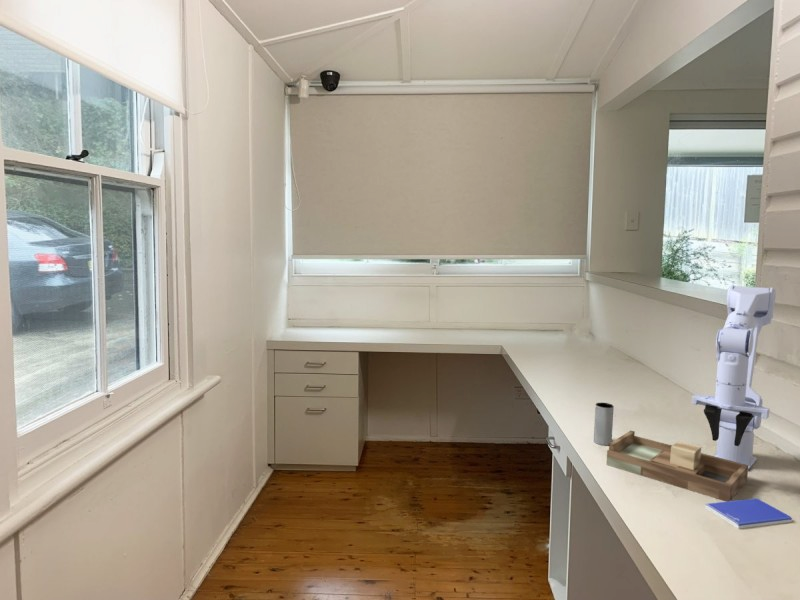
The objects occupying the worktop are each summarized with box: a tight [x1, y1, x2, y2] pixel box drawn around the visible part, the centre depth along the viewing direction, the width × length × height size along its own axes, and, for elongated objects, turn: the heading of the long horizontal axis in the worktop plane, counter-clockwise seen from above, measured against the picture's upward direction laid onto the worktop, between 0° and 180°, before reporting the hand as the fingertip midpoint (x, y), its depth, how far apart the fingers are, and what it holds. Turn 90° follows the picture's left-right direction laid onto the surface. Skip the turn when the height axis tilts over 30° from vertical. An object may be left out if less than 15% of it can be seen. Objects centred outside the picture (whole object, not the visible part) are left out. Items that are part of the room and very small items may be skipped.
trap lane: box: [605, 430, 749, 502], centre depth 125 cm, size 15×26×5 cm, turn 45°
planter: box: [593, 402, 615, 446], centre depth 143 cm, size 4×4×10 cm
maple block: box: [670, 441, 702, 470], centre depth 126 cm, size 5×5×4 cm
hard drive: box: [704, 498, 793, 530], centre depth 106 cm, size 2×8×12 cm
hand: (726, 442), depth 119 cm, fingers open, 4 cm apart
